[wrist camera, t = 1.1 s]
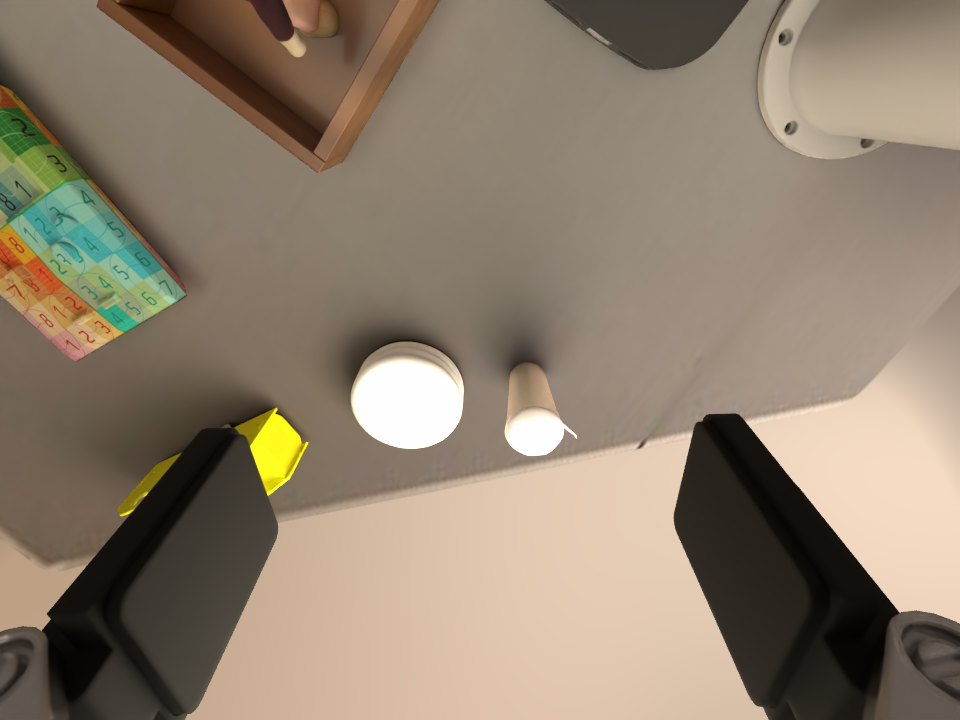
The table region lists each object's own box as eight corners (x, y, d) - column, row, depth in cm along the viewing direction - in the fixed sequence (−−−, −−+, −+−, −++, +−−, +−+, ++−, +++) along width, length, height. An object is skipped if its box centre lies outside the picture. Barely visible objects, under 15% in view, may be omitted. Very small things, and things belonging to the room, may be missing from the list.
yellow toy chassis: (276, 398, 45) (235, 457, 38) (312, 439, 48) (281, 502, 41) (158, 455, 49) (100, 518, 42) (197, 490, 52) (149, 555, 44)
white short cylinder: (378, 322, 41) (369, 341, 38) (481, 364, 43) (480, 384, 40) (346, 406, 46) (335, 429, 43) (440, 440, 48) (437, 464, 45)
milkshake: (566, 386, 44) (584, 458, 35) (512, 402, 45) (517, 477, 36) (551, 346, 42) (567, 413, 33) (495, 364, 43) (497, 434, 34)
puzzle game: (68, 367, 38) (-199, 127, 30) (108, 340, 42) (-116, 123, 34) (171, 306, 36) (-93, 21, 27) (203, 284, 40) (-16, 30, 31)
